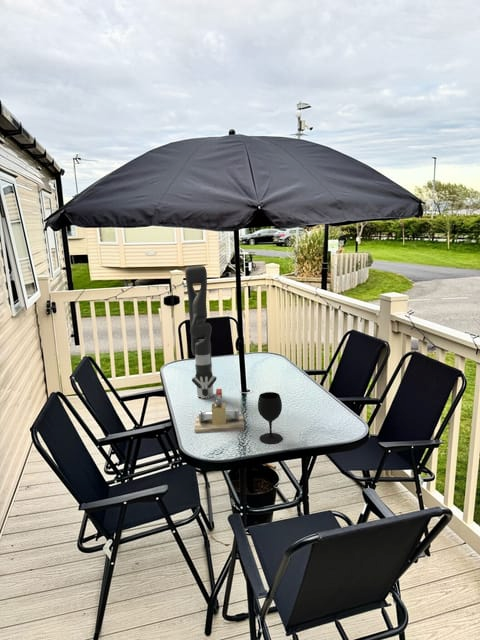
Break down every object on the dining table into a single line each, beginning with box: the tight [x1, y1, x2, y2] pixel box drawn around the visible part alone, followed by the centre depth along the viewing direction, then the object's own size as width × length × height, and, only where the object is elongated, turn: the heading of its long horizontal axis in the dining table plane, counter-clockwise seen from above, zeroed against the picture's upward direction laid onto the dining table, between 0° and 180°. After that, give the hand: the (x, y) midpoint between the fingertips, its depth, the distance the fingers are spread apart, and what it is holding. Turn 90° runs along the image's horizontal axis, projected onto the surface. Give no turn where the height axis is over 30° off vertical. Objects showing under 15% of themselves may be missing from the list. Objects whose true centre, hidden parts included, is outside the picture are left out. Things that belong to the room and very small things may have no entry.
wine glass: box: [257, 391, 284, 445], centre depth 186 cm, size 10×10×20 cm
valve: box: [198, 402, 240, 425], centre depth 204 cm, size 6×19×8 cm, turn 91°
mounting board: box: [193, 413, 245, 433], centre depth 205 cm, size 15×23×2 cm, turn 91°
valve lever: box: [214, 388, 223, 406], centre depth 210 cm, size 17×3×3 cm, turn 1°
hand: (205, 395), depth 215 cm, fingers closed
